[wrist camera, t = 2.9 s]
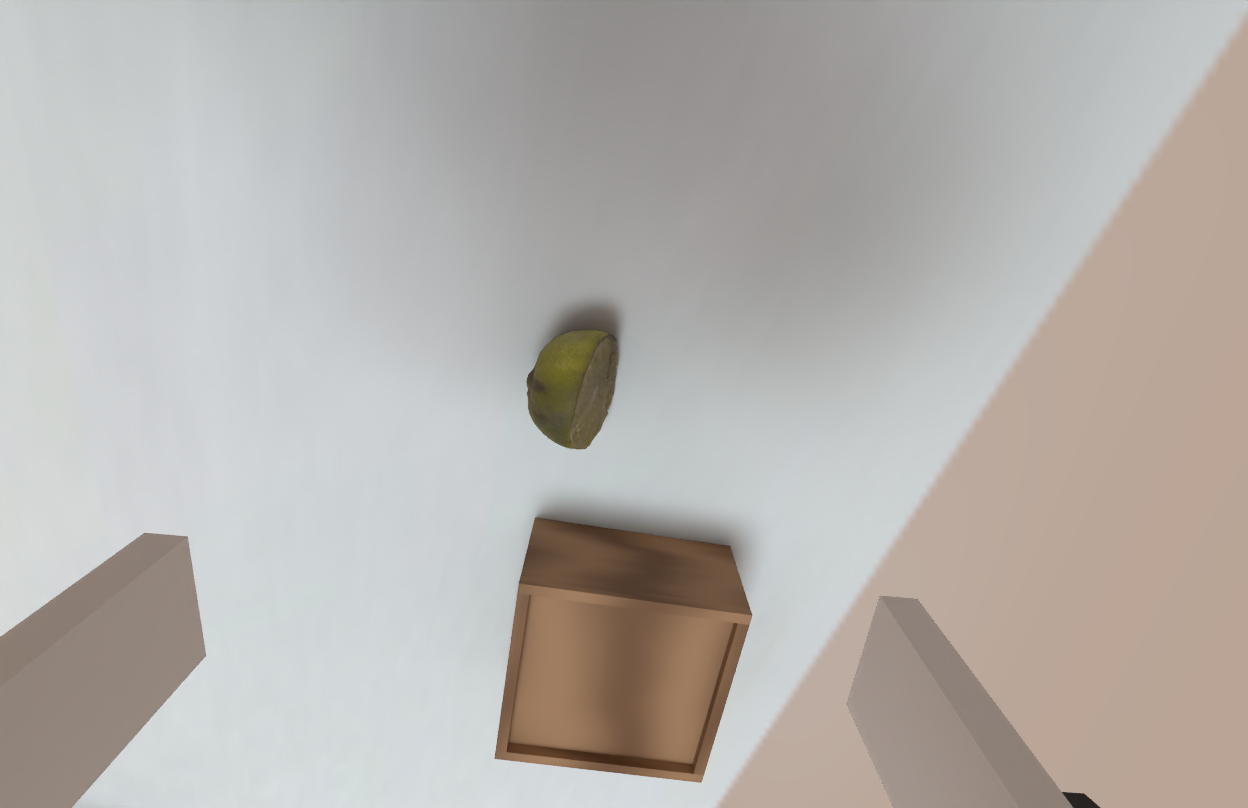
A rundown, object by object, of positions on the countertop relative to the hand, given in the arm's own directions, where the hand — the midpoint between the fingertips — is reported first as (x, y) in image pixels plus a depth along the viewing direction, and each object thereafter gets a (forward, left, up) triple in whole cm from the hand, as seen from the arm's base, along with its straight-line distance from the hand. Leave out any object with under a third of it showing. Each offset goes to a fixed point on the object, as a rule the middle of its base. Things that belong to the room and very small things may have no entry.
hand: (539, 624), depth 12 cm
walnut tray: (+3, -13, -17) cm, 21 cm away
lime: (0, 0, -17) cm, 17 cm away
